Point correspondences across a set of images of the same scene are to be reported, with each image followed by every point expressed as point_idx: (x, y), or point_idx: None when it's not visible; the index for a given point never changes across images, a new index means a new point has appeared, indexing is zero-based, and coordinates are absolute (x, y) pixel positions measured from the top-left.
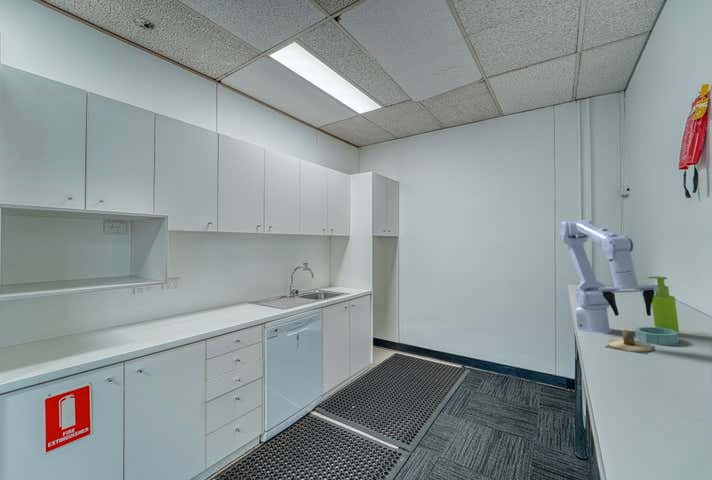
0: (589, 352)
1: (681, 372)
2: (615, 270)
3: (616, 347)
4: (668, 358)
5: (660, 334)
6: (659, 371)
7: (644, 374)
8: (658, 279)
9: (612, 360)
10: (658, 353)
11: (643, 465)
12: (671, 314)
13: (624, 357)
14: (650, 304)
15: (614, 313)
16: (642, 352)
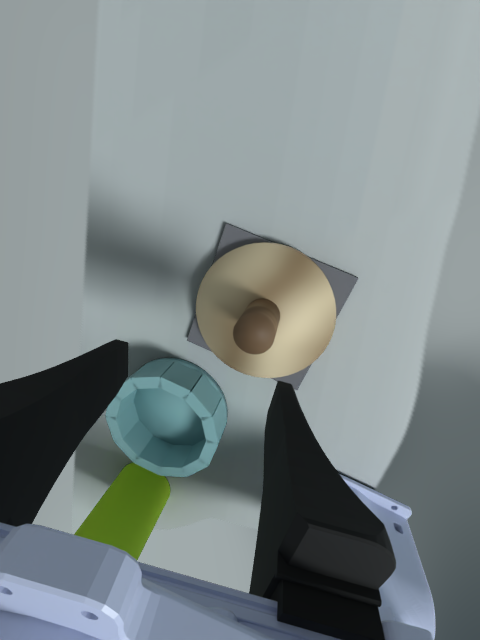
0: (441, 189)
1: (153, 40)
2: None
3: (316, 264)
4: (170, 216)
5: (151, 383)
6: (217, 8)
7: None
8: None
9: (365, 91)
10: (189, 268)
11: None
12: (84, 530)
13: (306, 166)
14: (44, 370)
15: (294, 391)
16: (235, 244)
